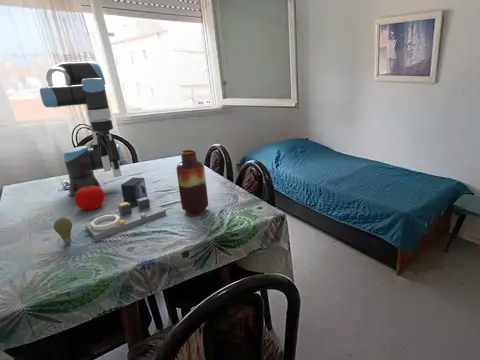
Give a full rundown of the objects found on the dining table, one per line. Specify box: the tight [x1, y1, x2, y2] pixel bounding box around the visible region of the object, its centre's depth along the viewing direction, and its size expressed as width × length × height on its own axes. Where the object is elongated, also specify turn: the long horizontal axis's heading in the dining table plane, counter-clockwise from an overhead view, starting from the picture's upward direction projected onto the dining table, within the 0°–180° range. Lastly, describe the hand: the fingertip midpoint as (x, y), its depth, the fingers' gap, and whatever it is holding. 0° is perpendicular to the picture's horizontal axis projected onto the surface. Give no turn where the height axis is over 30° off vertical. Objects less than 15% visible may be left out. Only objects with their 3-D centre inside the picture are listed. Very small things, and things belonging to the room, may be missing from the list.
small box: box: [120, 177, 148, 207], centre depth 138 cm, size 11×6×10 cm, turn 168°
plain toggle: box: [137, 196, 150, 210], centre depth 127 cm, size 3×4×4 cm
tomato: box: [73, 185, 105, 210], centre depth 135 cm, size 11×12×10 cm
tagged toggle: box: [117, 202, 132, 216], centre depth 122 cm, size 3×4×4 cm
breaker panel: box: [84, 201, 167, 241], centre depth 120 cm, size 13×28×4 cm, turn 131°
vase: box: [175, 149, 209, 217], centre depth 121 cm, size 11×11×26 cm
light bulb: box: [53, 217, 73, 245], centre depth 105 cm, size 6×6×10 cm
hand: (112, 173), depth 123 cm, fingers open, 11 cm apart
